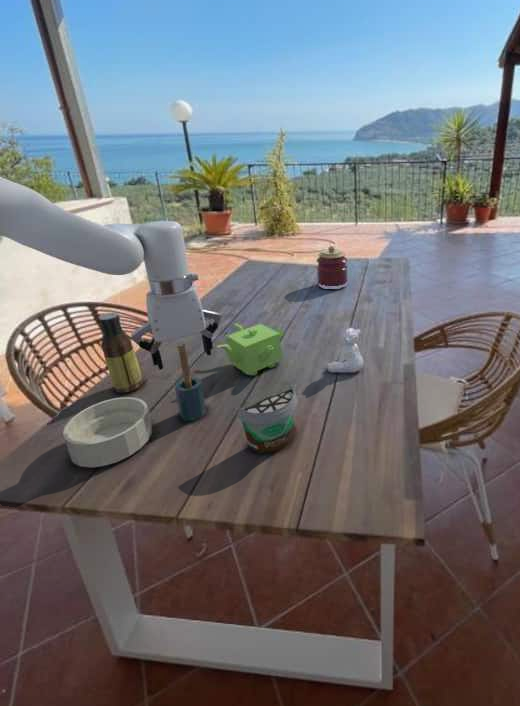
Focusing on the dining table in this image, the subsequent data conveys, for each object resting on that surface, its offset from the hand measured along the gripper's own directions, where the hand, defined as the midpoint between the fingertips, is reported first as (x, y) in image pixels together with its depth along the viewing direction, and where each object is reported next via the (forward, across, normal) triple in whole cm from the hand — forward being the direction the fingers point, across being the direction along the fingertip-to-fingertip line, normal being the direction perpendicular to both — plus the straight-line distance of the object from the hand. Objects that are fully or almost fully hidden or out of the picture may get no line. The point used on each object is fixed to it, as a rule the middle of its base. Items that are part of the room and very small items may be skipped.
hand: (184, 359), depth 83 cm
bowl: (+14, +16, 0) cm, 21 cm away
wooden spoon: (+13, 0, 0) cm, 13 cm away
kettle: (+14, -19, -12) cm, 26 cm away
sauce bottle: (+14, +11, -20) cm, 27 cm away
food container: (+14, -11, +20) cm, 27 cm away
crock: (+14, 0, 0) cm, 14 cm away
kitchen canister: (+15, -71, -55) cm, 91 cm away
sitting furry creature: (+14, -39, +4) cm, 42 cm away
